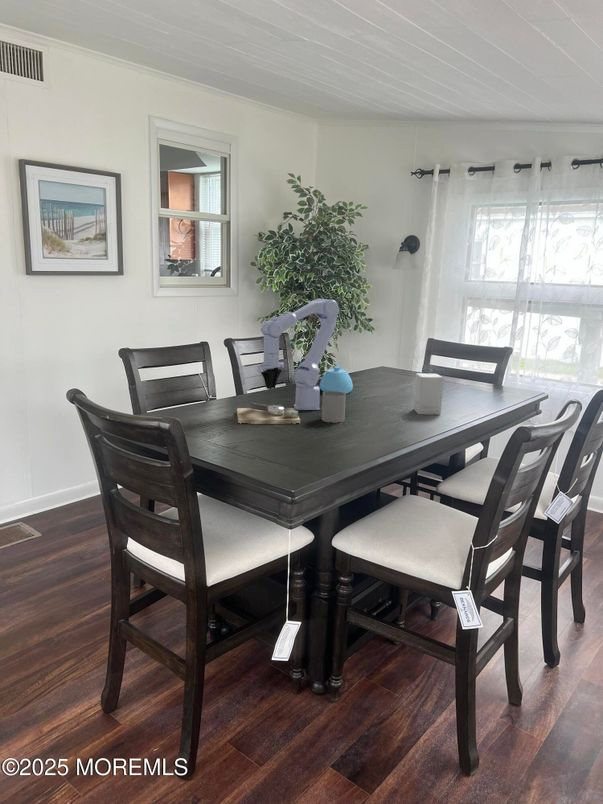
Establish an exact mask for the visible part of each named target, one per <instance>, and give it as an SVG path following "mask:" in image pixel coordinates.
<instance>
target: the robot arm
mask: <svg viewBox="0 0 603 804" xmlns="http://www.w3.org/2000/svg"><path fill="white" fill-rule="evenodd" d="M339 313H340V308H339V305H338V303H337V301H336V300H334V299H325V298H316V299H313V300H311V301H310V302H309V303H308V304H305V305H304V306H302V307H301V308H299V309H297V310H295V311H293V312H291V311H283V312H282V314H281V315H279V316H277V317H273V318H272V319H271V320H266V321H264V323H262V327H261V328H260V331H261V333H262V336H263V363H261V365H259V366H257V372H258V373H260V374H261V375H262V378H263V380H264V384H265V388H266V389H269V390H272V389H276V385H277V383H278V379H279V377H280V375H281V373H282V368H285V364H284V363H285V362H282V361H280V360H279V359H280V337H281V335H282V334H283V332H286V330H287V331H288V329H291V328H292V327H294V326H296V325H297V321H299V320H301V319H303V318H305V317H308V316H311V315H312V314H315V316H316V318H318V320H319V322H320V324H321V325H320V327H319V329H318V332H317V334H316V336H315V338H314V340H313V342H312V344H311V347H310V348H309V350H308V352H307V353H308V354H307V355H306V357H305V360H303V361H302V362H300V363H299V365H298V366H297V368H296V369H295V370H294V371H293V373H292V379H293V381H294V383H295V385H296V386H295V404H293V408H294V409H295V411H317V410H318V411H319V410H320V397H321V393H320V390H321V389H320V386H318V385H317V383H318V382H319V375H320V373H321V371H320V368H319V364H320V361H321V359H322V357H323V356H324V353H325V351H326V349H327V347H328V345H329V342H330V340H331V338H332V336H333V333H334V332H335V329H336V327H337V322H338V321H337V320H338V314H339Z"/></svg>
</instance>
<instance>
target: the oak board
mask: <svg viewBox="0 0 603 804" xmlns="http://www.w3.org/2000/svg"><path fill="white" fill-rule="evenodd" d="M236 414H237V415H236V416H237V424H238V423H240V424H239V425H242V424H241V423H248V424H247V425H272V424H273V425H279V424H281V425H284V424H285V425H286V424H287V425H291V423H292V425H293V424H294V425H295V424H296V423H299V424H301V418H300V416H299V410H296V409H295V407H284V414H283V415H269V414H268V412H267V411H262V410H256V409H251V407H244V408H243V407H237V408H236ZM249 423H250V424H249Z"/></svg>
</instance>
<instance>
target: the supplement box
mask: <svg viewBox="0 0 603 804" xmlns="http://www.w3.org/2000/svg"><path fill="white" fill-rule="evenodd" d="M444 378H445V377H443V376H441V375H440V374H438V373H421V372H419V373H415V378H414V379H415V381H414V397H413V398H414V399H413V411H414V412H415V413H417V414H418V415H434V414H435V415H436V416H437V415H438V416H439V415H440V416H441V414H442V413H441V412H442V402H443V391H444V390H443V389H444Z"/></svg>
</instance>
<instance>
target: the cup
mask: <svg viewBox="0 0 603 804" xmlns="http://www.w3.org/2000/svg"><path fill="white" fill-rule="evenodd" d="M346 395H347V394H345V393H343V392H337V391H327V392H322V397H321V399H322V402H321V420H322V421H323V422H325V423H330V422H332V424H338V422H340V423H343V422H345V417H346V416H345V415H346V414H345V412H346Z"/></svg>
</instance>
